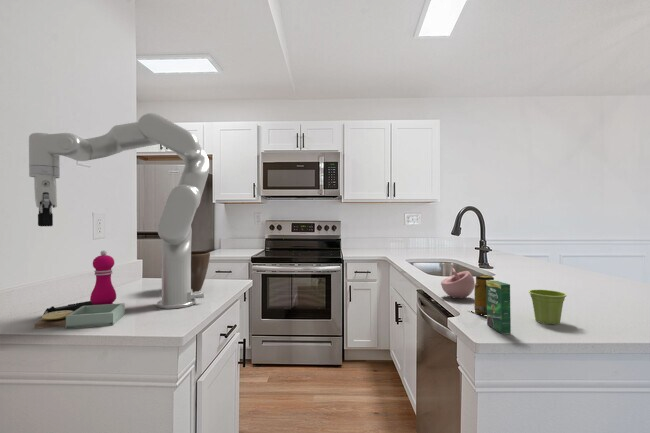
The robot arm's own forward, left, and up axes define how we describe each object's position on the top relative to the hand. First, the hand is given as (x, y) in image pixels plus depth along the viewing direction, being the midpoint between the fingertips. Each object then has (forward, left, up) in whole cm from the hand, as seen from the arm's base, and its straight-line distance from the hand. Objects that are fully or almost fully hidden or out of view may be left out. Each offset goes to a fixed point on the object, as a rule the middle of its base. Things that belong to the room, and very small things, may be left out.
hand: (45, 226), depth 108 cm
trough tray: (-19, +14, -28) cm, 36 cm away
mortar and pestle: (-141, +20, -28) cm, 145 cm away
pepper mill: (-17, +2, -28) cm, 33 cm away
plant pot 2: (-147, +53, -28) cm, 158 cm away
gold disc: (-8, +12, -28) cm, 32 cm away
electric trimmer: (-7, -1, -29) cm, 30 cm away
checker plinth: (-8, +12, -28) cm, 32 cm away
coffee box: (-128, +54, -28) cm, 141 cm away
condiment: (-136, +41, -28) cm, 145 cm away
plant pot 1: (-42, -23, -28) cm, 56 cm away
